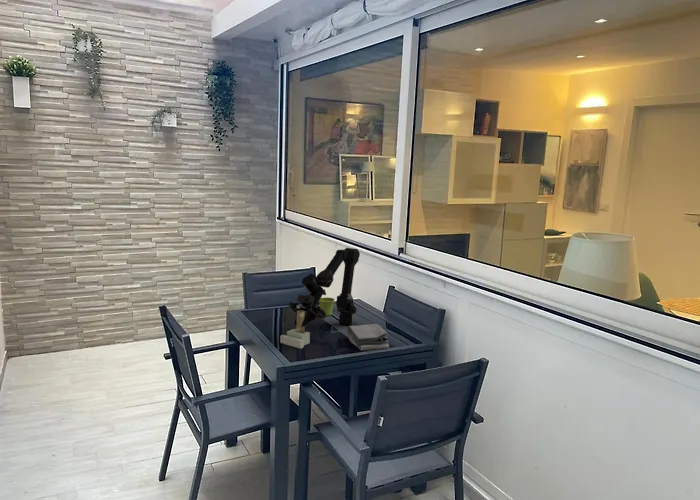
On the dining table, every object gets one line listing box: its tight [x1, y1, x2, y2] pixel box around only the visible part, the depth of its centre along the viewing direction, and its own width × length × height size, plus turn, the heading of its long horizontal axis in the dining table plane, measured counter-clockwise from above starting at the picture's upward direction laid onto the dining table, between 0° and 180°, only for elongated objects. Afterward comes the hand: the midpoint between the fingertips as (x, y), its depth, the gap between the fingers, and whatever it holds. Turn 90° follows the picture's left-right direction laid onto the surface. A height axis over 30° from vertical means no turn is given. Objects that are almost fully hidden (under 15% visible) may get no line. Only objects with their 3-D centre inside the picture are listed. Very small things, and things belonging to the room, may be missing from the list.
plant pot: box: [318, 296, 336, 317], centre depth 277 cm, size 9×9×9 cm
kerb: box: [279, 334, 305, 350], centre depth 227 cm, size 2×12×4 cm, turn 55°
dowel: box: [296, 310, 306, 333], centre depth 231 cm, size 4×4×13 cm
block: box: [286, 328, 311, 346], centre depth 230 cm, size 6×9×5 cm, turn 55°
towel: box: [346, 323, 390, 351], centre depth 232 cm, size 15×18×8 cm
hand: (298, 325), depth 229 cm, fingers closed on dowel, 4 cm apart
